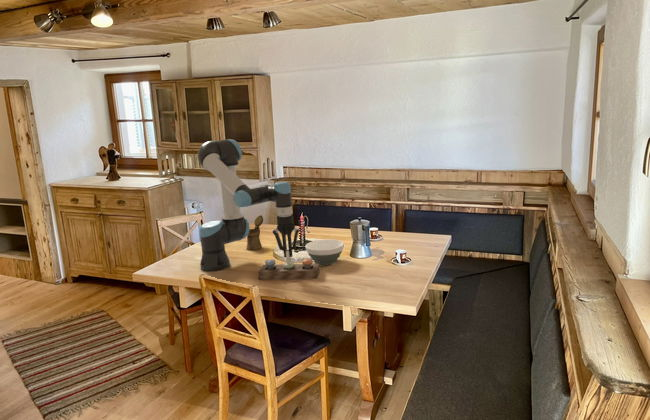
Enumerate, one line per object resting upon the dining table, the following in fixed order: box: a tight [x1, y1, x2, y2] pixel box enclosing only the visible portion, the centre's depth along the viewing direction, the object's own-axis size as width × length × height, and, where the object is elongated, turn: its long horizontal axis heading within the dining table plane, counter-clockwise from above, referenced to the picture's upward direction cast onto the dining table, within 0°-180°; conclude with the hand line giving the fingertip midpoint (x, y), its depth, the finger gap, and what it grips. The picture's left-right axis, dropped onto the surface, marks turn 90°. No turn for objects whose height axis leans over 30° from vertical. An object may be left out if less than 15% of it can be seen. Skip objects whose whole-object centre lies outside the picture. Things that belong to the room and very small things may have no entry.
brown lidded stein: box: [246, 215, 264, 251], centre depth 274 cm, size 9×14×18 cm, turn 148°
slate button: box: [264, 259, 276, 270], centre depth 224 cm, size 5×5×4 cm
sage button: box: [283, 261, 295, 269], centre depth 223 cm, size 5×5×4 cm
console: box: [257, 263, 321, 281], centre depth 223 cm, size 28×10×4 cm, turn 83°
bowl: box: [305, 238, 345, 267], centre depth 239 cm, size 20×20×10 cm
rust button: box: [301, 258, 314, 269], centre depth 221 cm, size 5×5×4 cm
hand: (288, 263), depth 222 cm, fingers closed
